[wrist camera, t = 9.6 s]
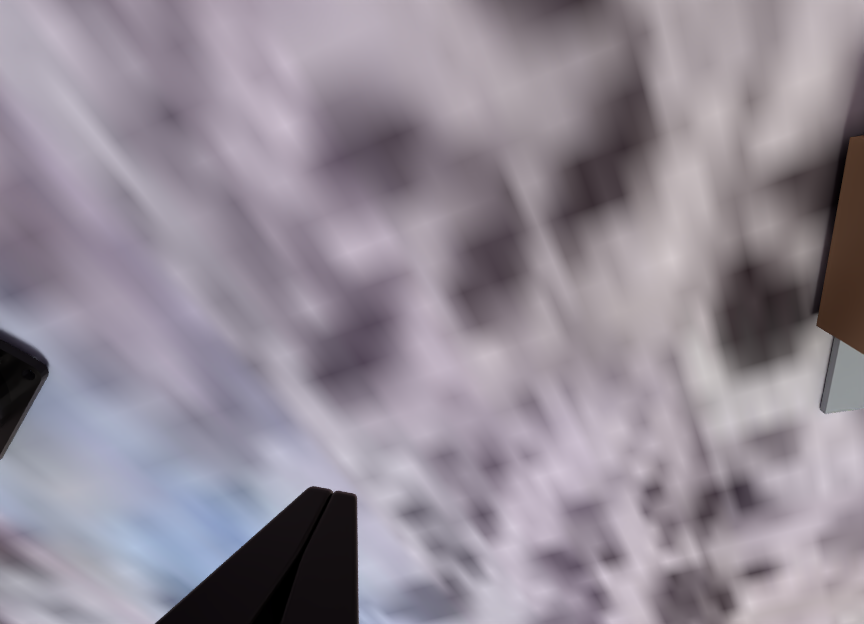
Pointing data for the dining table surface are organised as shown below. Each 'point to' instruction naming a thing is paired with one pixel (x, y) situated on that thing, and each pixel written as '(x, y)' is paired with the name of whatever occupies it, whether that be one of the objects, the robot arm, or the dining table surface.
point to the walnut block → (847, 257)
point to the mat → (844, 380)
